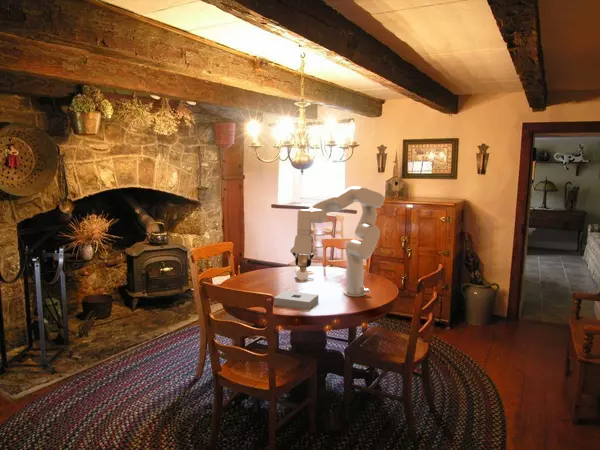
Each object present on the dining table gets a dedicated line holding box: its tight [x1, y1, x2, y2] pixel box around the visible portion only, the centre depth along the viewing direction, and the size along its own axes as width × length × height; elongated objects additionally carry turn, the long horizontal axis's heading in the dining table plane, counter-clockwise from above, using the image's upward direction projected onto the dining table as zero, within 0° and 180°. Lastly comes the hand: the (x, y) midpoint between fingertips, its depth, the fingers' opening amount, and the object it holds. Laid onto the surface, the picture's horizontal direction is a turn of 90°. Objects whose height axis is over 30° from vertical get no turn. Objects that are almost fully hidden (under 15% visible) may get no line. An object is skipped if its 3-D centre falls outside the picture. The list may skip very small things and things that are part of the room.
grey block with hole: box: [273, 290, 319, 311], centre depth 234 cm, size 20×14×4 cm
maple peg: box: [297, 254, 308, 273], centre depth 234 cm, size 6×6×9 cm
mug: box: [294, 265, 315, 281], centre depth 287 cm, size 12×10×8 cm
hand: (303, 265), depth 234 cm, fingers closed on maple peg, 5 cm apart
